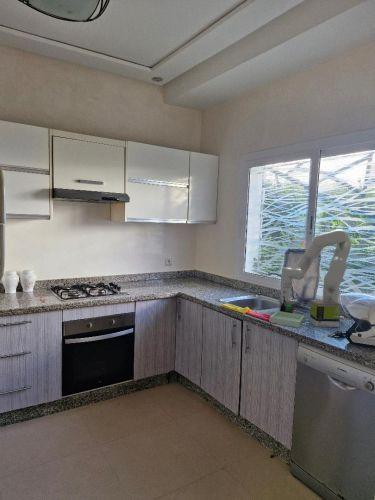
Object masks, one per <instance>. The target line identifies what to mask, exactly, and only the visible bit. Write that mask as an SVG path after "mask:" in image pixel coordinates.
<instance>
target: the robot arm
mask: <svg viewBox="0 0 375 500" xmlns="http://www.w3.org/2000/svg"><path fill="white" fill-rule="evenodd" d="M350 239H351V238H350V236H349V235H348V234H347V233H346V231H345V230H343V229H341V228H337V229H334V230H332V231H328V232H324V233H319V234H317V235H315V236H314V237H313V239H312V240H311V241H310V244H309V245H308V247H307V248H306V250H305V252H304V253H303V256H302V257H301V260H300V261H299V262H298V263H297V265H296V267H295V268H293V267H290V266H283V267H282V268H281V278H280V288H281V292H280V298H281V310H280V309H279V311H283V312H285V310H286V306H285V305H286V302H287V303H288V302H289V301H292V300H291V299H292V297H291V296H292V289H293V281H294V280H297V281H298V280H299V281H300V280H303V279H304V277H305V275H306V274H307V271H309V269H310V267H311V266H312V265H313V263H314V262H316V260H317V259H318V258H319V256H320V255H321V253H322V251H323V250H324V248H326V247H330V246H333V245H336V247H335V249H334V252H333V255H332V258H331V260H330V262H329V267H328V270H327V273H326V274H325V275H324V277H323V289H322V300H328V301H335V302H337V303H339V293H340V285H341V284H342V282H343V279H344V275H345V273H346V270H347V266H348V265H347V260H348V258H349V254H350V253H351V247H352V245H351V242H352V241H351V240H350ZM293 279H294V280H293ZM284 303H285V304H284ZM340 320H345V316H343V315H340Z"/></svg>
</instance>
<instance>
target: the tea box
mask: <svg viewBox="0 0 375 500" xmlns="http://www.w3.org/2000/svg"><path fill="white" fill-rule="evenodd" d="M309 311H310V313H309V322H310V323H311V324H312V325H313V326H315V327H321V328H322V327H327V328H329V327H330V328H333V327H334V328H340V322H341V319H340V316H341V303H339V302H338V303H337V302H335V301H328V300H321V299H319V300H318V299H317V300H315V299H311V300H310V310H309Z"/></svg>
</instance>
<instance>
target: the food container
mask: <svg viewBox="0 0 375 500" xmlns="http://www.w3.org/2000/svg"><path fill="white" fill-rule="evenodd" d="M278 302H279V311H280V310H281V297H279V298H278ZM284 304H285V303H284ZM296 304H297V303H296V300H290V301H289V302H288V303H287V302H286V305H285V306H286V310H285V312H287V313H293V314H294V312H295V311H294V310H295V305H296ZM281 312H283V311H281Z"/></svg>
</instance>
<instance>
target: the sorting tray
mask: <svg viewBox="0 0 375 500" xmlns="http://www.w3.org/2000/svg"><path fill="white" fill-rule="evenodd" d="M305 319H306V316H305V315H304V314H298V313H294V312H293V313H287V312H281V311H280V310H276V311H275V312H273V314H272V315H270V316H269V322H268V323H270V322H271V324H275V323H276V324H277V325H282V326H287V327H293V328H298V329H299V328H300V327H301V326H302V325H303V323H304V322H305Z"/></svg>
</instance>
